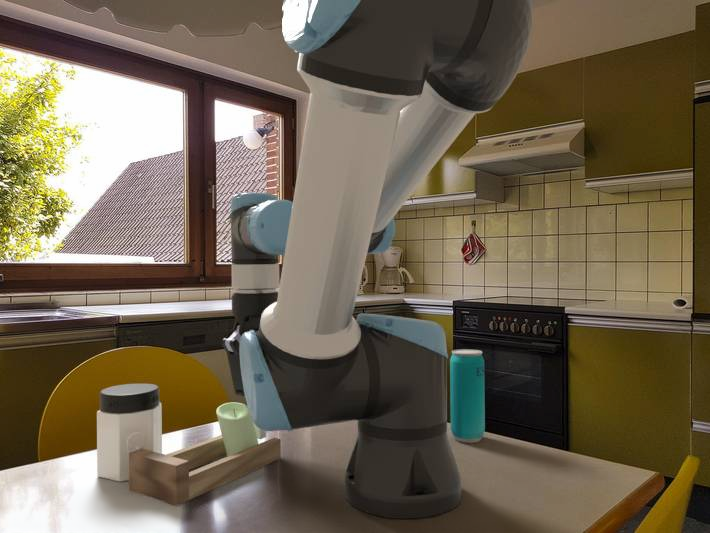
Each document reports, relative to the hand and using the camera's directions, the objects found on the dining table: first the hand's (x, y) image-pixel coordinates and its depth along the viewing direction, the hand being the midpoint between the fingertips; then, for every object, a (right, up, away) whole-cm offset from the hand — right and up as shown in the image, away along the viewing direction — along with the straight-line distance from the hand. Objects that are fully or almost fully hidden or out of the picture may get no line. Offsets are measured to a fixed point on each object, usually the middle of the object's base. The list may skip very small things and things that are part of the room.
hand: (257, 436), depth 89 cm
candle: (-1, -2, -3) cm, 4 cm away
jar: (-17, -3, -8) cm, 19 cm away
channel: (-5, -2, -8) cm, 10 cm away
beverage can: (+35, -2, +5) cm, 36 cm away
